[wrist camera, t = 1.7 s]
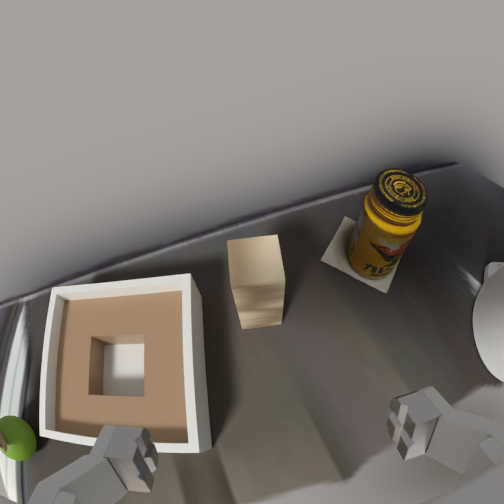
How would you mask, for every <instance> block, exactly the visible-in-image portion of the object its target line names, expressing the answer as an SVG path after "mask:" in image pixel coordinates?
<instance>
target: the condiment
mask: <svg viewBox="0 0 504 504" xmlns="http://www.w3.org/2000/svg"><path fill="white" fill-rule="evenodd" d="M427 199H428V198H427V192H426V189H425V187H424V186H423V184H422V183H421V181H420V180H419V179H418V178H417V177H415V176H414V175H412V174H411V173H409V172H407V171H405V170H402V169H396V168H393V169H387V170H384V171H382V172H380V173H379V174H378V175H377V176H376V178H375V180H374V183H373V186H372V188H371V190H370V191H369V192H368V193H367V194H366V196H365V198H364V201H363V205H362V207H361V210H360V214H359V217H358V220H357V222H356V221H354V220H352V219H350V218H348V217H346V216H345V217H344V219H343V221H342V223H341V225H340V227H339V229H338V230H337V232H336V234H335V236H334V238H333V239H332V242H331V243H330V244H329V246H328V248H327V250H326V252H325V253H324V255H323V257H322V258H321V261H323V262H325V263H327V264H329V265H331V266H333V267H335V268H337V269H339V270H341V271H343V272H345V273H347V274H349V275H351V276H352V277H354V278H356V279H358V280H360V281H362V282H364V283H366V284H368V285H370V286H372V287H374V288H376V289H378V290H380V291H382V292H384V293H387V291H388V289H389V286H390V284H391V281H392V279H393V276H394V274H395V271H396V268H397V266H398V263H399V261H400V258H401V256H402V255H403V253H404V251H405V250H406V248H407V247H408V244H409V243H410V241H411V239H412V238H413V236H414V234H415V233H416V231H417V229H418V227H419V225H420V223H421V215H422V212H423V210H424V209H425V207H426V204H427ZM343 254H344V255H343ZM345 257H346V258H345Z"/></svg>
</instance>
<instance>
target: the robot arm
mask: <svg viewBox="0 0 504 504" xmlns="http://www.w3.org/2000/svg"><path fill="white" fill-rule="evenodd" d="M473 332H474V338H475V342H476V346H477V349H478V352H479V354H480V356H481V358H482V360H483V362H484V364H485V365H486V367H487V368H488V370H489V371H490V372H491V373H492V374H493V375H494V376H495V377H496V378H498V379H499V380H501V381H502V382H504V263H502V262H491V263H490V264H488V265H487V266H486V267H485V271H484V283H483V286H482V288H481V290H480V291H479V293H478V295H477V298H476V301H475V304H474V309H473ZM390 407H391V409H392V410H393V411H392V412H391V414H390V415H389V416H388V421H387V427H388V432H389V435H390V437H391V439H392V440H393V441H396V442H398V447H397V449H398V451H399V453H400V454H401V456H402V458H403V459H404V460H408V459H411V458H414V457H417V456H420V455H422V454H425V453H426V455H428V456H429V457H431V458H433V459H435V460H437V461H438V462H440V463H442V464H444V465H446V466H448V467H450V468H451V469H453V470H455V471H457V472H459V473H461V474H463V475H462V477H461V479H460V480H459V482H458V484H457V486H456V488H454V489H452V490H450V491H448V492H446V493H444V494H442V495H439V496H437V497H435V498H433V499H431V500H428V501H426V502H424V503H421V504H504V423H503V422H499V421H495V420H492V419H488V418H485V417H481V416H478V415H474V414H471V413H468V412H465V411H461V410H455V411H454V409H453V408H452V407H451V406H450V405H449V404H448V403H447V402H446V401H445V399H444V398H443V397H442V396H441V395H440V394H439V393H438V392H437V391H436V390H435V388H434V387H432V386H429V387H426V388H423V389H420V390H418V391H415V392H411V393H408V394H405V395H402V396H399V397H395V398H393V400H392V401H391V406H390ZM150 437H151V435H150V433H149V431H148V429H147V428H141V427H128V426H115V425H105V426H103V427H102V430H101V432H100V434H99V436H98V438H97V440H96V442H95V444H94V446H93V448H92V450H91V452H90V454H89V455H84V456H83V457H81V458H79V459H78V460H76V461H75V462H73V463H71V464H70V465H68V466H66V467H65V468H63V469H61V470H60V471H58V472H56V473H55V474H53V475H51V476H49V477H48V478H46V479H44V480H42V481H41V482H39V483H38V484H37V486H36V488H35V490H34V492H33V494H32V496H31V498H30V499H29V501H28V503H27V504H115V503H116V502H118V501H119V500H120V499H121V498H122V497H123V496H124V495H125V494H126V493H127V492H128V491H138V492H151V490H152V486H153V482H154V477H153V475H152V472H153V471H155V470H156V469H157V464H158V454H157V449H156V447H155V444H153V443H152V442H151V441H149V440H150ZM127 490H128V491H127ZM0 504H18V503H16V502H14V501H11V500H9V499H7V498H5V497H3V496H1V495H0Z"/></svg>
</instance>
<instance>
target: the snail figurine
mask: <svg viewBox="0 0 504 504" xmlns="http://www.w3.org/2000/svg"><path fill="white" fill-rule="evenodd" d="M36 447H37V441H36V436H35V434H34V431H33V430H32V428H31V427H30V426H29V424H28V423H26V422H25V421H24V420H23V419H21V418H19V417H16V416H5V417H3V418H1V419H0V450H1V451H2V452H3V453H4V454H5V455H6V456H8V457H9V458H11V459H13V460H17V461H24V460H27V459H29V458H31V457H32V456H33V455H34V453H35V451H36Z"/></svg>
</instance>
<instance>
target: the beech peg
mask: <svg viewBox="0 0 504 504" xmlns="http://www.w3.org/2000/svg"><path fill="white" fill-rule="evenodd" d="M227 244H228V257H229V271H230V283H231V289H232V293H233V296H234V300H235V304H236V307H237V311H238V315H239V318H240V322H241V326H242V329H248V328H257V327H265V326H273V325H280V324H282V315H283V303H284V291H285V274H284V268H283V263H282V257H281V251H280V246H279V241H278V235H270V236H262V237H253V238H245V239H236V240H228V241H227Z"/></svg>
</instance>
